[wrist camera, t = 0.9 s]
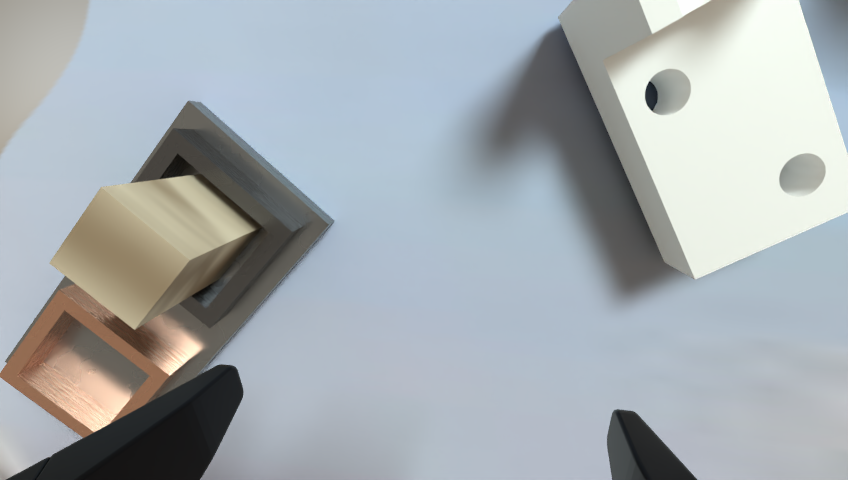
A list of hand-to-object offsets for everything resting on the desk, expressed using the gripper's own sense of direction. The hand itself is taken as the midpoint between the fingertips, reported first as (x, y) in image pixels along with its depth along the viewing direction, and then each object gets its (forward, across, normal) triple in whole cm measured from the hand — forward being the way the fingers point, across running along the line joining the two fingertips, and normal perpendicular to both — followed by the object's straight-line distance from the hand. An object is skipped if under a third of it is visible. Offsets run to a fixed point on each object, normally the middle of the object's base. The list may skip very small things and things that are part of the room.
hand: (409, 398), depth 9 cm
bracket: (+16, -10, -4) cm, 19 cm away
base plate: (+10, +17, +4) cm, 20 cm away
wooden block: (+10, +13, 0) cm, 16 cm away
